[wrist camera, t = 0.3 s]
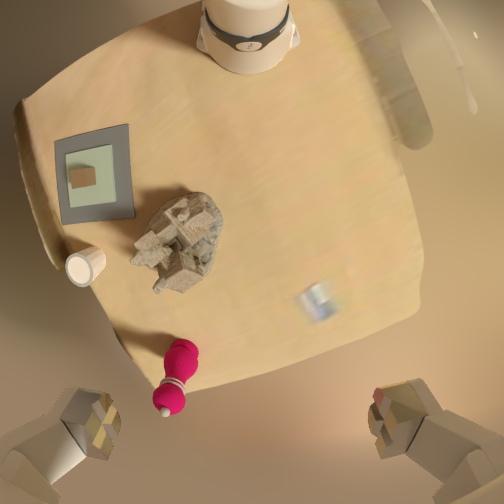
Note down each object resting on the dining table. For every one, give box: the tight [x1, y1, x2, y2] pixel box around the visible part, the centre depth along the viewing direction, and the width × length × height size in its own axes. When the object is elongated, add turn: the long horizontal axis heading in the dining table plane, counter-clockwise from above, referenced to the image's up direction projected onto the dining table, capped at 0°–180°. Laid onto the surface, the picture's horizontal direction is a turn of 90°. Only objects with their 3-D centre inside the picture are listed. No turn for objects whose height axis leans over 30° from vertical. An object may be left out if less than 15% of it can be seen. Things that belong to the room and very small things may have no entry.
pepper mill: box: [153, 340, 199, 417], centre depth 52 cm, size 7×7×20 cm
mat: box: [55, 124, 135, 225], centre depth 51 cm, size 18×18×1 cm
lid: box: [66, 145, 116, 208], centre depth 48 cm, size 11×11×5 cm
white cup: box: [65, 246, 106, 287], centre depth 52 cm, size 7×7×7 cm
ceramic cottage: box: [130, 192, 223, 294], centre depth 48 cm, size 16×16×15 cm
